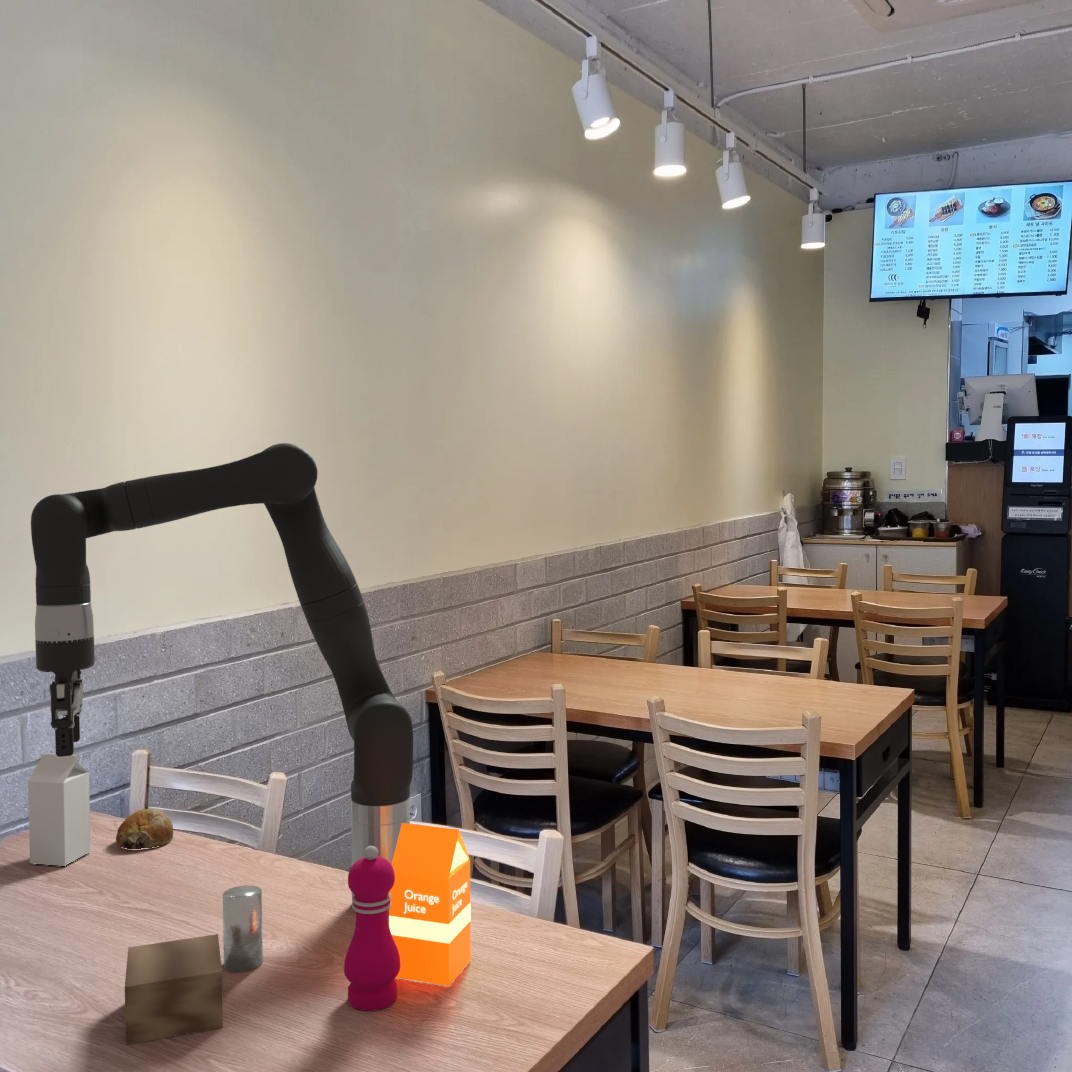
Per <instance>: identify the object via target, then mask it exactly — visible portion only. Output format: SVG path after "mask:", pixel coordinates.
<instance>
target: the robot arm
mask: <svg viewBox="0 0 1072 1072" xmlns="http://www.w3.org/2000/svg"><path fill="white" fill-rule="evenodd" d="M318 474H319V473H318V467H317V463H316V461H315V460H314V458H313V456H312V455H311V454H310V453H309V452H308V451H307V450H305V449H304V448H303V447H301V446H299V445H297V444H294V443H286V442H282V443H281V442H280V443H276V444H273V445H271V446H268V447H267V448H265V449H264V450H262V451H261V452H257V453H255V454H253V455H250V456H247V457H244V458H241V459H239V460H235V461H231V462H228V463H223V464H219V465H216V466H215V465H214V466H211V467H204V468H200V469H198V468H197V469H193V470H192V469H191V470H185V471H184V470H183V471H179V472H178V471H177V472H171V473H164V474H156V475H150V476H146V477H140V478H136V479H130V480H125V481H120V482H116V483H113V484H110V485H107V486H105V487H102V488H96V489H89V490H83V491H76V492H70V493H62V494H60V493H59V494H57V493H56V494H50V495H47V496H45V497H43V498H42V499H40V500H39V501H38V502H37V503H36V504H35V506H34V507H33V508H32V512H31V514H30V532H31V533H30V534H31V543H32V544H31V545H32V550H33V557H34V563H35V615H34V616H35V617H34V635H35V636H34V638H35V639H34V641H35V644H34V645H35V667H36V669H37V671H38V672H44V673H53V674H54V680H52V681H51V684H49V692H48V693H49V695H50V707H49V708H50V709H49V710H50V717H51V721H50V726H51V729H53V731H54V738H55V740H54V745H55V754H56V755H57V756H58V757H63V756H71V755H74V752H75V745H74V743H77V742H79V741H80V739H81V727H80V719H81V718H80V715H81V713H82V706H83V700H84V699H83V698H84V695H83V691H84V689H83V688H84V681H83V679H81V675H82V671H84V670H86V669H90V668H92V667H93V666H95V661H96V660H95V634H94V633H95V632H94V630H95V629H94V628H95V627H94V614H93V610H92V601H91V599H92V598H91V596H92V591H91V575H90V569H89V566H88V564H87V539H90V538H94V537H97V536H101V535H105V534H109V533H113V532H124V531H132V530H133V531H134V530H136V529H138V530H139V529H142V528H148V527H151V526H152V527H153V526H156V525H161V524H166V523H171V522H173V521H174V522H175V521H179V520H181V519H185V518H189V517H193V516H196V515H200V514H205V513H208V512H213V511H216V510H220V509H225V508H232V507H239V506H246V505H258V504H263V505H264V507H265V508H266V510H267V512H268V514H269V516H270V518H271V520H272V523H273V525H274V526H275V529H276V531H277V534H278V535H279V538H280V541H281V543H282V547H283V551H284V554H285V555H284V556H285V557H286V563H287V566H288V570H289V573H290V577H291V580H292V583H293V586H294V590H295V592H296V595H297V599H298V602H299V604H300V606H301V610H302V612H303V615H304V618H305V619H306V620H305V621H307V625H308V627H309V630H310V631H311V634H312V637H313V638H314V640H315V643H316V645H317V647H318V648H319V650H320V653H321V654H322V657H323V658H324V660H325V663H326V664H327V665H328V667H329V669H330V671H331V673H332V676H333V679H334V681H335V685H336V687H337V690H338V694H339V697H340V702H341V705H342V709H343V713H344V717H345V721H346V727H347V729H348V734H349V735H350V738H351V740H352V741H353V778H352V781H351V783H350V810H351V811H350V812H351V813H350V819H351V820H350V823H351V830H350V831H351V866H352V865H353V864H354V863H355V862H356V861H358V860H360V859H361V858H364V857H365V855H364V852H365V849H366V848H367V847H369V846H375V847H376V848H377V850H378V857H382V858H384V859H386V860H387V861H389V862H390V864H391V865H392V861H393V857H394V853H395V849H396V845H397V841H398V837H399V833H400V829H401V825H402V823H405V824H411V808H410V807H411V801H410V799H411V797H410V796H411V785H412V781H413V776H414V775H413V774H414V727H413V726H414V725H413V721H412V717H411V715H410V713H409V712H408V710H407V708H405V707H404V706H403V705H402V704H401V703H400V702H398V700H397V699H396V697H395V695H394V694H393V692H392V690H391V688H390V686H389V684H388V682H387V680H386V678H385V676H384V674H383V671H382V670H381V667H380V664H379V662H378V660H377V659H378V658H377V656H376V651H375V647H374V641H373V640H374V639H373V634H372V629H371V628H372V627H371V623H370V618H369V614H368V610H367V607H366V606H367V605H366V604H365V600H364V598H363V595H362V593H361V590H360V588H359V585H358V582H357V579H356V577H355V575H354V573H353V571H352V568H351V566H350V565H349V563H348V561H347V559H346V557H345V555H344V554H343V552H342V550H341V548H340V547H339V544H338V543H337V542H336V540H335V538H334V536H333V535H332V533H331V532H330V529H329V528H328V525H327V523H326V521H325V519H324V518H325V517H324V516H323V512H322V510H321V506H320V502H319V499H318V496H317V492H316V488H315V487H316V484H317V481H318ZM60 716H62V718H61V717H60ZM59 717H60V718H59ZM353 895H354V894H353V893H352V892H351V898H352V897H353ZM352 904H353V902H351V905H352ZM388 916H389V909H388Z"/></svg>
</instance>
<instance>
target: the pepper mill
mask: <svg viewBox="0 0 1072 1072" xmlns="http://www.w3.org/2000/svg"><path fill="white" fill-rule="evenodd" d="M364 855H365V857H364V858H361V859H360V860H358V861H356V862H355V863H354V864H353V865H352V864H351V866H350V869H349V871H348V875H347V885H348V889H349V890H350V891H351V894H352V893H353V894H354V895H353V897H352V896H351V901H352V902H353V904H352V902H351V908H352V910H353V911H354V912H355V923H354V926H355V927H354V931H353V935H352V938H351V940H350V943H349V946H348V948H347V950H346V952H345V953H346V954H345V957H344V963H343V974H344V975H345V976H344V977H345V978H346V980H348V981H347V982H349V985H348V987H347V1001H348V1003H349V1005H350V1006H351V1007H352V1008H354V1009H357V1010H360V1011H365V1010H367V1011H366V1012H369V1011H371V1010H374V1011H378V1010H383V1009H385V1008H387V1007H390V1006H391V1005H393V1004H394V1003H395V1002H394V1001H396V1000H397V998H398V984H397V981H396V979H395V978H396V976H397V975H398V973H399V971H400V967H401V964H400V956H399V952H398V948H397V946H396V944H395V941H394V939H393V937H392V934H391V932H390V928H389V915H388V909H389V908H390V906H391V900H390V899H391V894H390V893H389V891H390V890H391V889H392V887H393V886H394V883H395V873H394V869H393V867H392V865H391V864H390V862H389V861H387V860H386V859H384V858H382V857H378V850H377V848H376V847H375V846H369V847H367V848H366V849H365V852H364ZM389 1005H390V1006H389ZM371 1012H372V1011H371Z"/></svg>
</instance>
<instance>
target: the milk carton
mask: <svg viewBox="0 0 1072 1072" xmlns="http://www.w3.org/2000/svg"><path fill="white" fill-rule="evenodd" d="M27 796H28V797H27V798H28V834H29V835H28V838H29V845H28V846H29V864H30V863H36V864H49V865H60V866H59V867H61V866H65V867H67V866H68V865H67V864H69V863H71V862H73V861H74V862H76V861H77V860H76V859H78V858H80V857H81V856H83V855H85V854H87V853H89V852H90V853H91V810H90V809H91V808H90V807H91V806H90V802H91V801H90V772H89V771H88V770H87V769H86V768H85V767H84V766H83V765H81V764H80V763H79V762H78V761H77V754H76V755H75V754H72V755H71V756H63V757H58V756H57V755H56V753H40V760H39V761H38V763H37V765H36V766H35V769H34V770H33V772H32V773H31V775H30V776H29V778H28V780H27ZM90 853H89V854H90ZM87 855H88V854H87ZM85 856H86V855H85ZM80 859H81V858H80ZM75 860H76V861H75ZM78 860H79V859H78ZM74 862H73V863H74ZM36 864H35V865H36ZM71 864H72V863H71ZM66 865H67V866H66ZM69 865H70V864H69Z"/></svg>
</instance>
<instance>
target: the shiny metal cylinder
mask: <svg viewBox="0 0 1072 1072" xmlns="http://www.w3.org/2000/svg"><path fill="white" fill-rule="evenodd" d="M262 894H263V891H262V888H261V887H259V886H255V885H238V886H235V887H230V888H228V889H227V890H225V891H224V892H223V893H222V930H223V934H222V935H223V937H222V938H223V939H222V940H223V969H225V970H226V971H227V972H230V973H246V972H250V971H254V970H256V969H258V968H259V967H261V966H262V964H263V961H264V959H263V958H264V957H263V956H264V953H263V950H264V949H263V947H264V946H263V944H264V943H263V895H262Z"/></svg>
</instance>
